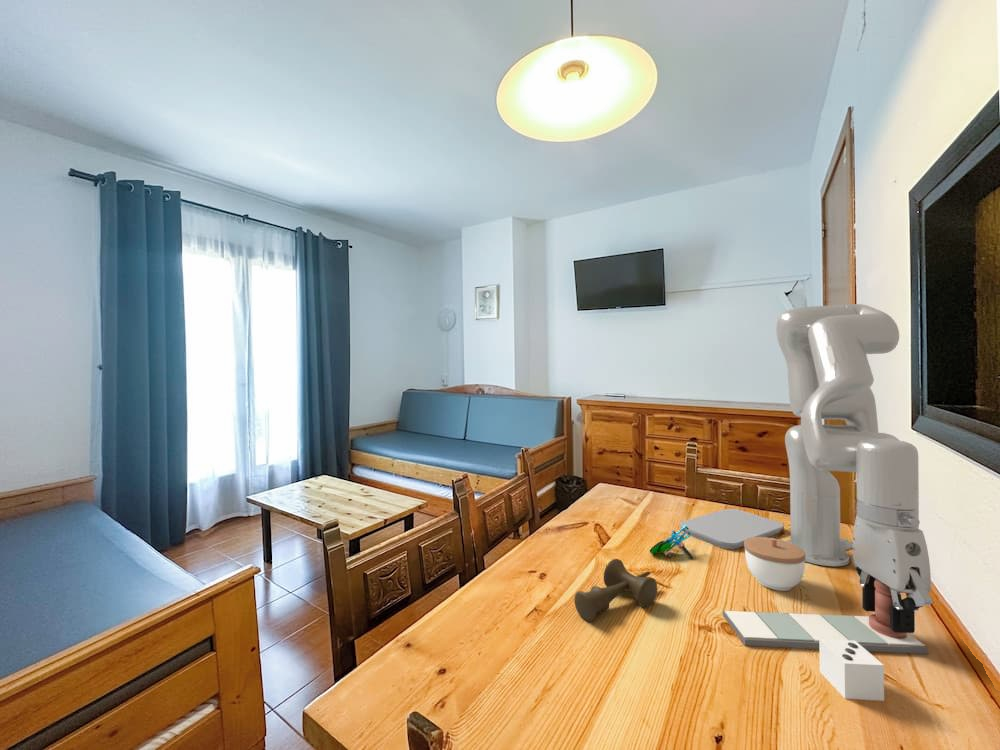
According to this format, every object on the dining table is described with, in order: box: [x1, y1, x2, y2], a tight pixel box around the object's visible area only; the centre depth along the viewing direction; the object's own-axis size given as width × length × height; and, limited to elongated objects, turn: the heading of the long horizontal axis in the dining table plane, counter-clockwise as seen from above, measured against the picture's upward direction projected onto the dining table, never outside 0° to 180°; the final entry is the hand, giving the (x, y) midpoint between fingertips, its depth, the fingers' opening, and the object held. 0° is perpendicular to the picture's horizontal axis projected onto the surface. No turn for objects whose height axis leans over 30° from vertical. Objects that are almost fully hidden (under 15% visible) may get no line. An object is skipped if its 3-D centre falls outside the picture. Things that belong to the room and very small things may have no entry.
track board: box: [722, 610, 929, 655], centre depth 69 cm, size 28×8×1 cm, turn 84°
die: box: [818, 639, 885, 702], centre depth 58 cm, size 5×5×5 cm
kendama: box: [574, 558, 658, 623], centre depth 79 cm, size 6×10×20 cm
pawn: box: [868, 579, 907, 639], centre depth 68 cm, size 5×5×9 cm
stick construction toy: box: [649, 526, 694, 560], centre depth 98 cm, size 12×7×8 cm
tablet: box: [679, 508, 784, 550], centre depth 113 cm, size 16×26×2 cm, turn 118°
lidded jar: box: [743, 536, 806, 592], centre depth 85 cm, size 11×11×9 cm
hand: (887, 619), depth 68 cm, fingers open, 4 cm apart
